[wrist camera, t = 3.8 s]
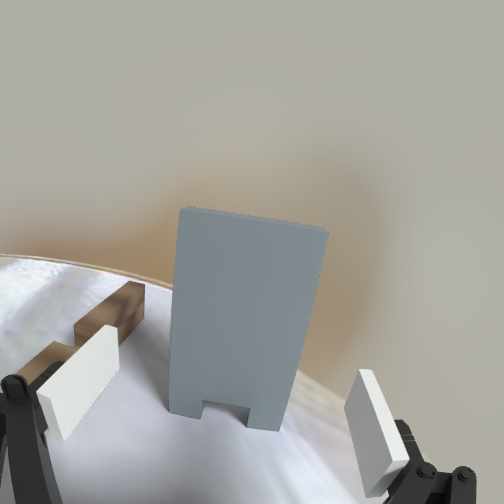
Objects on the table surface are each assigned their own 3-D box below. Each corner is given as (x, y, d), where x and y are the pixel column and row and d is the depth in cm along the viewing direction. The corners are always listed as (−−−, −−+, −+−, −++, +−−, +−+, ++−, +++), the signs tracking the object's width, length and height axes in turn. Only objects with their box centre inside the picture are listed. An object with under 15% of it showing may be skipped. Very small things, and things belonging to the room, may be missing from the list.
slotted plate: (168, 412, 25) (180, 209, 21) (174, 399, 27) (187, 206, 23) (278, 431, 25) (328, 232, 20) (278, 417, 27) (323, 227, 22)
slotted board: (49, 429, 18) (35, 385, 17) (29, 419, 18) (14, 374, 17) (144, 317, 42) (144, 284, 40) (129, 313, 42) (129, 280, 41)
